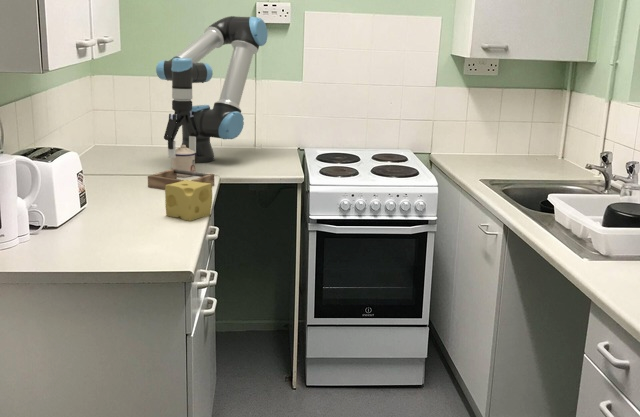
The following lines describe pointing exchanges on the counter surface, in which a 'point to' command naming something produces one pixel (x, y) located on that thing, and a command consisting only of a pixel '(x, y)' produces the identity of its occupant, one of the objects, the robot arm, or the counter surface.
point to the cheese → (188, 199)
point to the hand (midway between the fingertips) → (182, 155)
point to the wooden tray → (171, 177)
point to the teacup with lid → (184, 160)
